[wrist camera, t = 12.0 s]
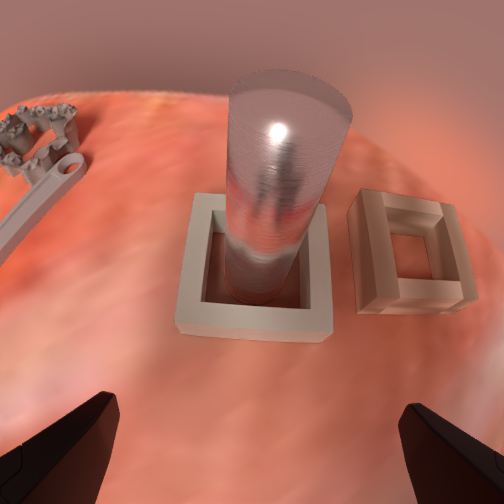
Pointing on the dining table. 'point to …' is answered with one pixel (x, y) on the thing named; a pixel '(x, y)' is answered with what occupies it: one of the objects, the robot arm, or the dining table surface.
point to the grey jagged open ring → (21, 140)
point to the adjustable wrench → (38, 202)
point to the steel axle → (276, 173)
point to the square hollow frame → (253, 317)
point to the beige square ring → (383, 262)
